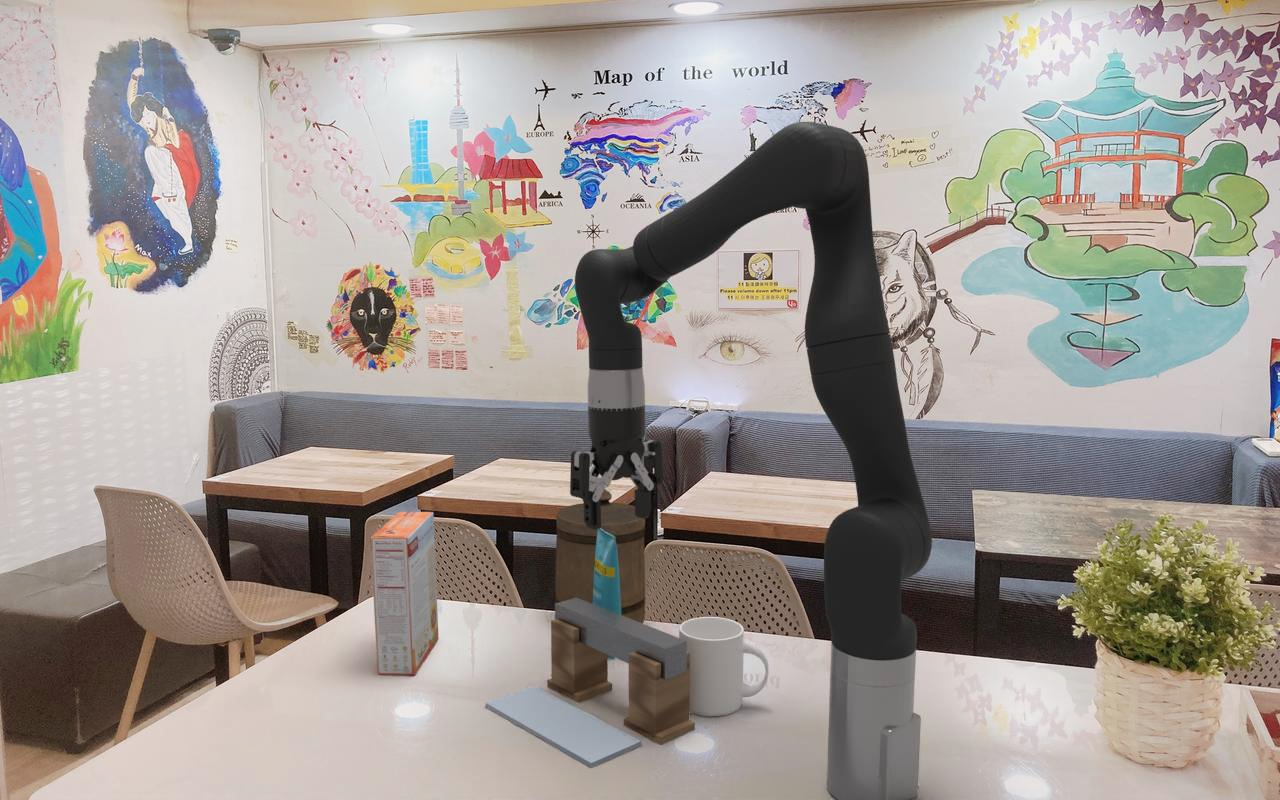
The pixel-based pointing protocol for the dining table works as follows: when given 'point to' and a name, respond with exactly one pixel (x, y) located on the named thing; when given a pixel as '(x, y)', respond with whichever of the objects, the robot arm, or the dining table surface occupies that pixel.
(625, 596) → the wooden container
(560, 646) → the post
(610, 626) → the rail
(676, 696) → the post
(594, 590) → the tube
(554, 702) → the mat
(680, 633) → the mug
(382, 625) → the cracker box
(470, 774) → the dining table surface
